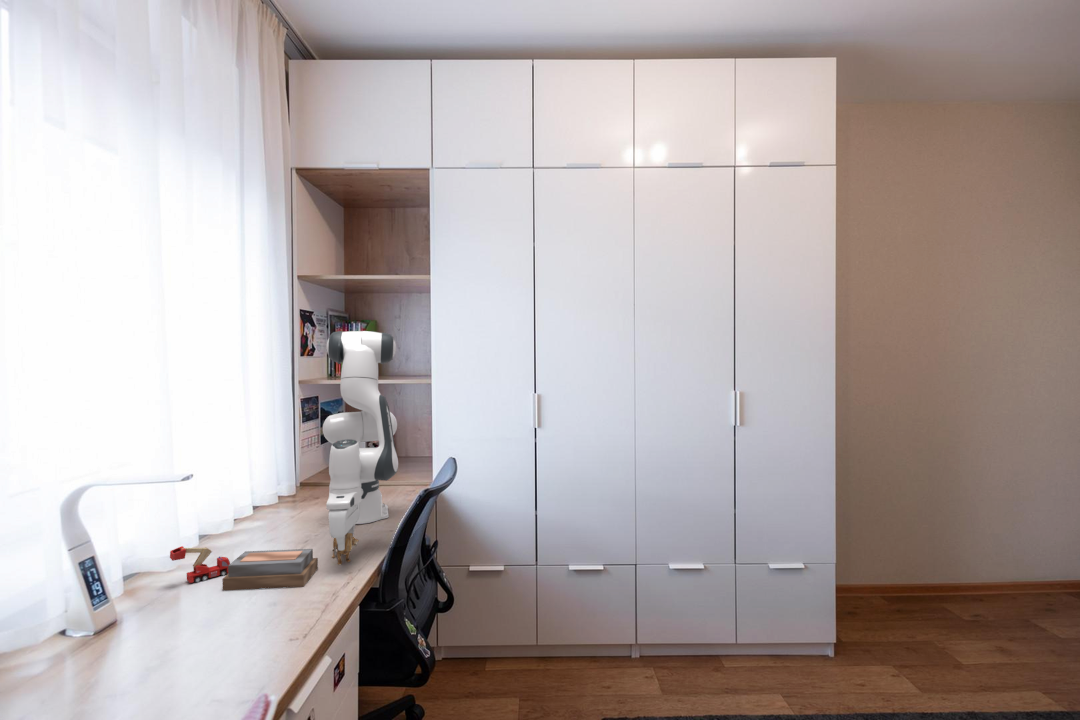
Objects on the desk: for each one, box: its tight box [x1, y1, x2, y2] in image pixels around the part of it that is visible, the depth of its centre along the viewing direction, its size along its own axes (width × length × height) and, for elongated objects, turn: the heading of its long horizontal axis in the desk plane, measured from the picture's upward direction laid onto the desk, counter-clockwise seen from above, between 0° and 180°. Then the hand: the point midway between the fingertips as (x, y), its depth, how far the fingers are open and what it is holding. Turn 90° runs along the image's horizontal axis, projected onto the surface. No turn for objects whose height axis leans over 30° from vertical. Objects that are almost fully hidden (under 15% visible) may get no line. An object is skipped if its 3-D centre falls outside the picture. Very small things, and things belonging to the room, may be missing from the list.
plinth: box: [221, 548, 319, 591], centre depth 148 cm, size 12×20×6 cm, turn 95°
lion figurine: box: [331, 533, 359, 566], centre depth 162 cm, size 15×5×9 cm, turn 41°
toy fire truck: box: [169, 545, 231, 584], centre depth 148 cm, size 3×14×10 cm, turn 134°
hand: (346, 544), depth 160 cm, fingers closed on lion figurine, 8 cm apart
